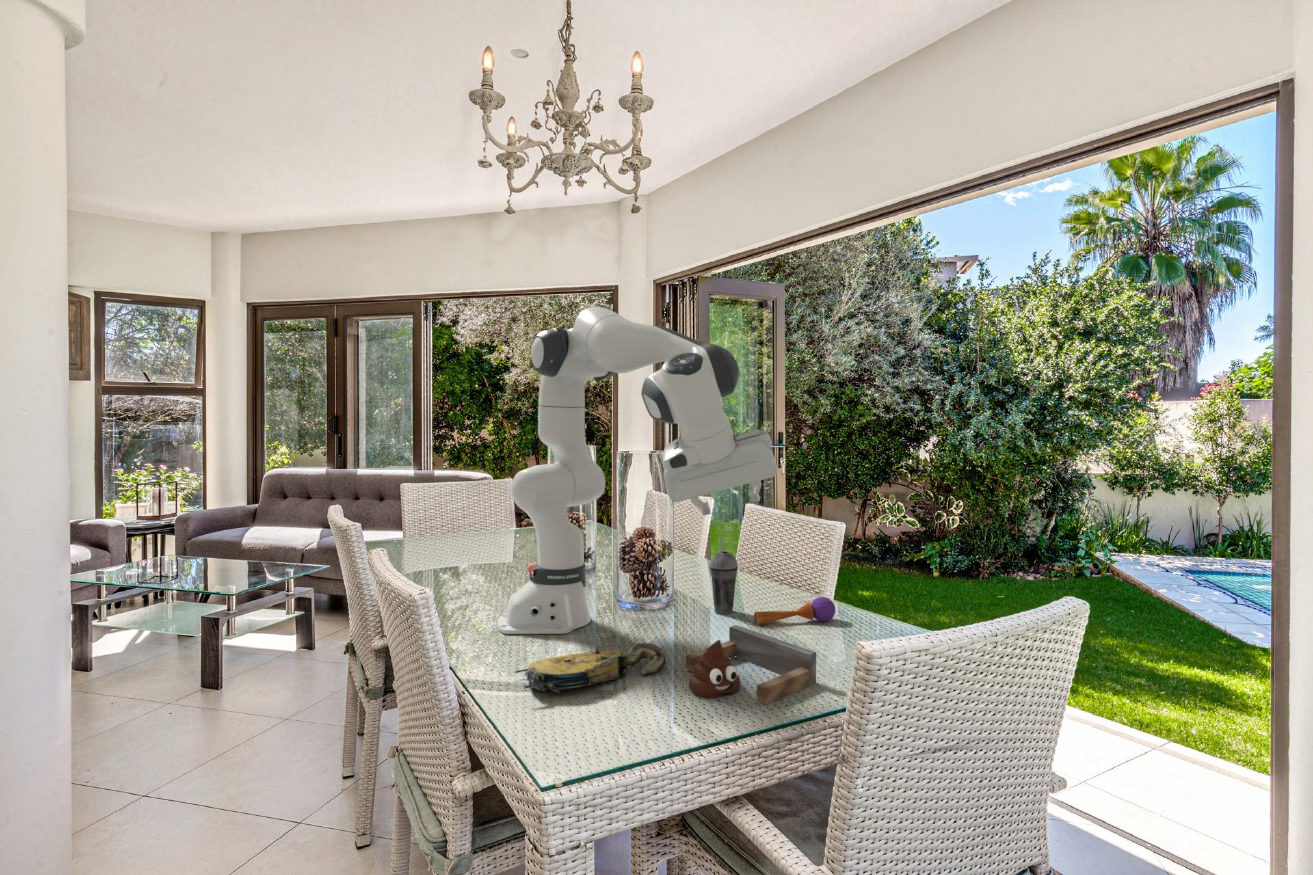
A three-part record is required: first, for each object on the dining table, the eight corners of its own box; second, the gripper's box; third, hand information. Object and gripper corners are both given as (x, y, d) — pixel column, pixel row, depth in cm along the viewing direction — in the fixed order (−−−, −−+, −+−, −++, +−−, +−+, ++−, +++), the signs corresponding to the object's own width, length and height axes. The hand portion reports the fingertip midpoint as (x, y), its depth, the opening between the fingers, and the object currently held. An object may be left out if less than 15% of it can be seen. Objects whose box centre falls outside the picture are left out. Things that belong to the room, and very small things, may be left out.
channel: (765, 705, 123) (765, 672, 123) (685, 669, 139) (685, 640, 139) (815, 682, 133) (816, 652, 132) (735, 652, 149) (735, 624, 148)
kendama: (751, 604, 170) (827, 594, 173) (754, 629, 169) (831, 618, 173) (758, 607, 164) (837, 596, 168) (761, 633, 164) (840, 621, 167)
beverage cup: (743, 612, 176) (744, 535, 174) (721, 618, 172) (721, 538, 170) (725, 605, 182) (725, 530, 180) (703, 610, 178) (703, 533, 176)
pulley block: (678, 647, 135) (524, 670, 124) (680, 677, 134) (526, 703, 123) (652, 635, 148) (511, 655, 137) (654, 662, 147) (512, 685, 136)
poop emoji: (727, 676, 136) (727, 630, 136) (749, 693, 128) (750, 644, 128) (681, 685, 132) (681, 637, 132) (702, 703, 124) (702, 652, 124)
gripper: (765, 419, 123) (784, 483, 128) (656, 449, 126) (679, 511, 132) (768, 434, 117) (788, 501, 122) (654, 465, 121) (678, 529, 126)
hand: (731, 506), depth 127 cm, fingers open, 8 cm apart
